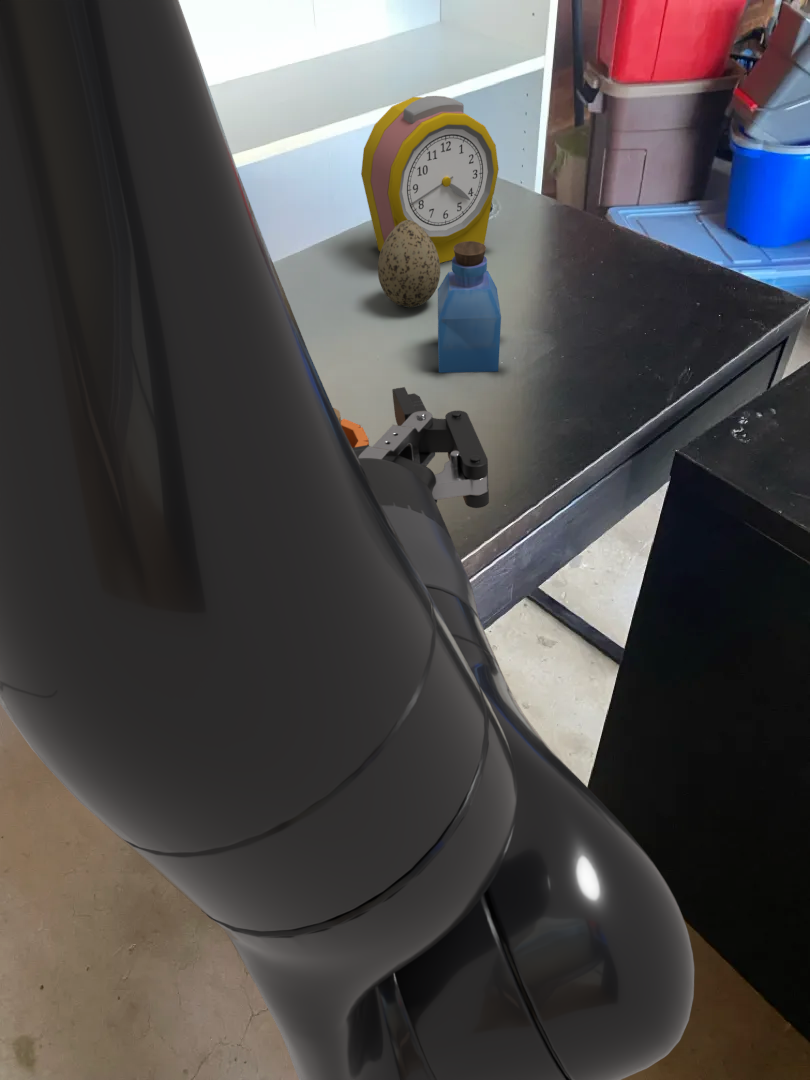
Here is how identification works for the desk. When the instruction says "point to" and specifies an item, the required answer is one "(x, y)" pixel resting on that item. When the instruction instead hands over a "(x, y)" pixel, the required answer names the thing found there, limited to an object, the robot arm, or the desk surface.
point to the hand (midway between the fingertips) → (327, 414)
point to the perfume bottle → (468, 314)
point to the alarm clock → (430, 172)
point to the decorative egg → (408, 265)
